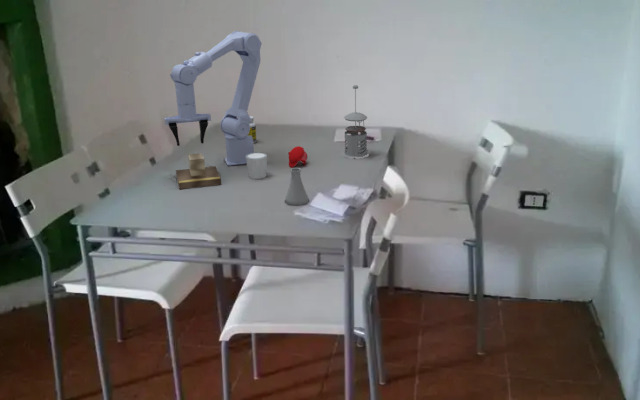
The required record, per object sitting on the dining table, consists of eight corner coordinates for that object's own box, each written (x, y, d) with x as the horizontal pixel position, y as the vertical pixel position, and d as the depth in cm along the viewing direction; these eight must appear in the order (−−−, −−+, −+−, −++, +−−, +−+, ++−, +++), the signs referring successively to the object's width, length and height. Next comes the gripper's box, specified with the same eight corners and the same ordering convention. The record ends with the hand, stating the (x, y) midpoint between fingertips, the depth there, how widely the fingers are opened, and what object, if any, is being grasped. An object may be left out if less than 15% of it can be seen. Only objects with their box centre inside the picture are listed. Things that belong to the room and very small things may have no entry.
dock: (216, 171, 223) (215, 165, 222) (221, 184, 212) (220, 178, 211) (176, 176, 220) (175, 169, 219) (179, 189, 208) (178, 182, 208)
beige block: (203, 170, 218) (202, 153, 216) (205, 176, 213) (204, 158, 211) (189, 172, 217) (187, 154, 215) (191, 178, 212) (189, 160, 210)
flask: (284, 197, 200) (282, 166, 196) (308, 196, 200) (307, 164, 197) (285, 206, 193) (283, 174, 190) (310, 205, 194) (309, 172, 190)
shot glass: (271, 173, 220) (270, 153, 218) (263, 180, 214) (261, 159, 212) (252, 171, 223) (251, 151, 220) (243, 178, 217) (242, 157, 214)
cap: (295, 150, 233) (284, 145, 228) (309, 147, 229) (298, 142, 225) (294, 172, 230) (284, 167, 226) (308, 169, 227) (298, 164, 222)
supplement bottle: (254, 144, 252) (252, 119, 248) (240, 144, 253) (238, 118, 249) (258, 140, 256) (256, 115, 253) (244, 140, 258) (243, 115, 254)
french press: (337, 157, 235) (336, 87, 225) (349, 148, 244) (348, 80, 235) (364, 160, 231) (364, 88, 222) (374, 150, 241) (375, 81, 232)
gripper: (163, 107, 208) (168, 149, 213) (210, 103, 211) (214, 144, 216) (162, 102, 214) (166, 143, 219) (207, 98, 217) (211, 139, 222)
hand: (190, 143), depth 218 cm, fingers open, 7 cm apart
